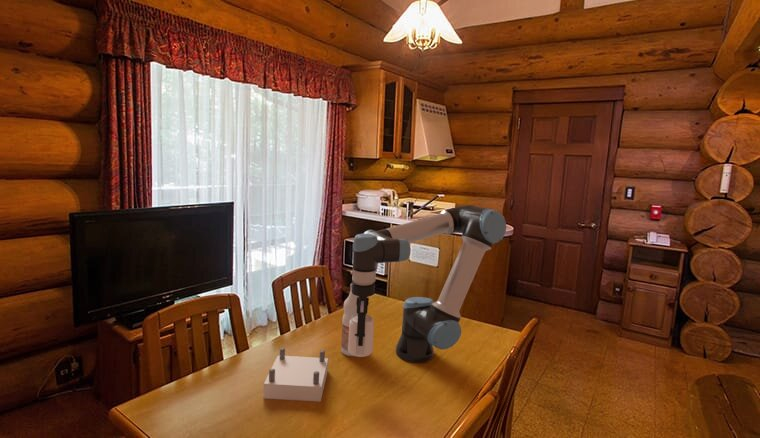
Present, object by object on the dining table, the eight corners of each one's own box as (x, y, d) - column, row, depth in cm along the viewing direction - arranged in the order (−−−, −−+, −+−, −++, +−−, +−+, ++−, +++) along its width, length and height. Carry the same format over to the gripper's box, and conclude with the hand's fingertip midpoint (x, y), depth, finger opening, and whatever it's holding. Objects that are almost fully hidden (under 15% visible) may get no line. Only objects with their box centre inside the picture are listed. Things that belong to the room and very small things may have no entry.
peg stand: (327, 371, 143) (328, 349, 142) (320, 401, 126) (321, 376, 124) (277, 368, 143) (278, 346, 142) (263, 398, 125) (264, 373, 124)
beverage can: (369, 360, 128) (371, 325, 126) (345, 356, 130) (346, 321, 128) (374, 348, 136) (376, 315, 134) (351, 345, 138) (353, 312, 136)
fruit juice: (347, 343, 165) (350, 278, 161) (367, 348, 162) (372, 282, 158) (336, 353, 157) (340, 285, 152) (358, 359, 153) (362, 289, 149)
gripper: (353, 271, 139) (351, 333, 143) (349, 292, 119) (346, 363, 122) (375, 272, 139) (372, 334, 143) (374, 293, 119) (371, 364, 122)
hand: (360, 347), depth 133 cm, fingers closed on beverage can, 8 cm apart
